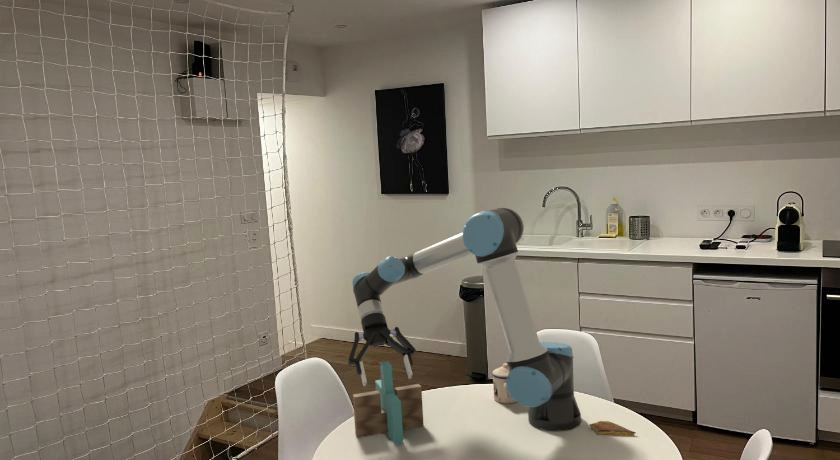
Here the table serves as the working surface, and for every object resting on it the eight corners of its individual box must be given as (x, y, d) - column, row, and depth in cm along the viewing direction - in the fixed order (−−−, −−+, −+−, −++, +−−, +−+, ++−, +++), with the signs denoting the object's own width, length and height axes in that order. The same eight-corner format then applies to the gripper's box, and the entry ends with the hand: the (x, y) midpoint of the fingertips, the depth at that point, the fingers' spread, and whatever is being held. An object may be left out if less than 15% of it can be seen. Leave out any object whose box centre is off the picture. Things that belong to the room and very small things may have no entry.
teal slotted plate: (377, 418, 193) (373, 355, 191) (385, 416, 193) (381, 353, 191) (394, 444, 174) (390, 374, 172) (403, 442, 174) (399, 373, 172)
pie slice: (636, 437, 171) (635, 431, 171) (616, 445, 167) (615, 438, 167) (606, 424, 180) (605, 418, 180) (586, 431, 176) (586, 425, 176)
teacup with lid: (494, 393, 208) (492, 359, 207) (522, 394, 206) (520, 359, 205) (491, 407, 196) (490, 371, 195) (521, 408, 195) (519, 371, 193)
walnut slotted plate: (421, 422, 188) (418, 383, 186) (423, 425, 185) (421, 386, 184) (355, 434, 182) (352, 394, 181) (357, 437, 179) (354, 397, 178)
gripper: (409, 319, 199) (426, 379, 187) (331, 329, 192) (344, 393, 179) (413, 306, 194) (431, 367, 181) (333, 316, 186) (346, 380, 174)
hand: (388, 380), depth 180 cm, fingers open, 13 cm apart
